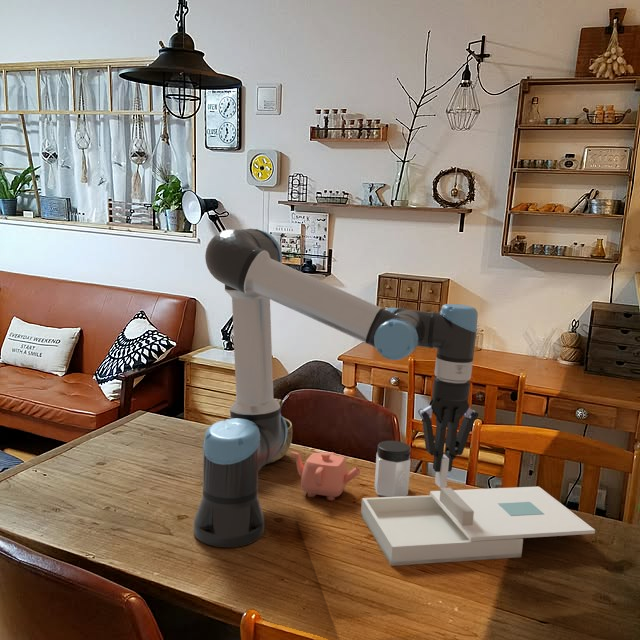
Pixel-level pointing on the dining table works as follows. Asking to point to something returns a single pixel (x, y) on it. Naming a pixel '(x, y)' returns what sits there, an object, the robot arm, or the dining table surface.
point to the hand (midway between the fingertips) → (440, 485)
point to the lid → (508, 513)
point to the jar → (392, 469)
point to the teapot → (324, 474)
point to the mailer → (426, 533)
